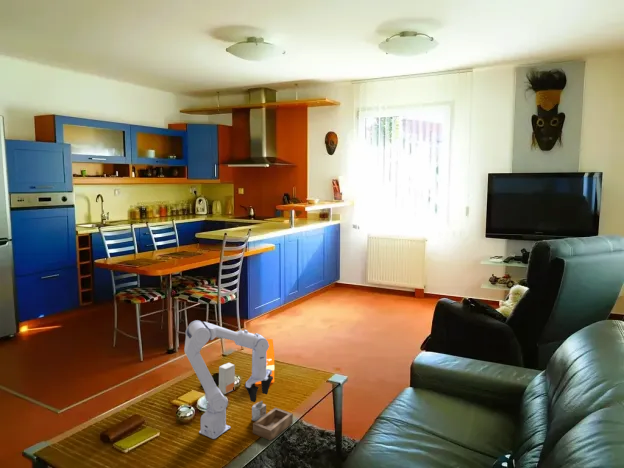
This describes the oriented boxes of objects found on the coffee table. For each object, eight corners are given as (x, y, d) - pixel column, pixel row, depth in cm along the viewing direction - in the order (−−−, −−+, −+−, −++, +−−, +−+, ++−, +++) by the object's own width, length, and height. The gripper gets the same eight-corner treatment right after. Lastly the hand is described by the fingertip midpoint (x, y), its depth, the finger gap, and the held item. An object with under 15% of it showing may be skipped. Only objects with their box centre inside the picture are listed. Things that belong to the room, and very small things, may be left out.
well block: (270, 440, 175) (270, 430, 174) (252, 433, 179) (252, 423, 179) (292, 423, 187) (292, 413, 187) (275, 416, 192) (275, 407, 191)
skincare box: (225, 394, 209) (225, 369, 207) (218, 391, 211) (218, 366, 210) (235, 389, 214) (235, 364, 212) (228, 386, 216) (228, 362, 214)
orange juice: (252, 377, 227) (253, 337, 224) (270, 375, 229) (271, 335, 226) (255, 384, 219) (256, 343, 216) (274, 382, 222) (274, 341, 219)
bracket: (259, 423, 187) (259, 406, 186) (251, 420, 189) (252, 403, 188) (266, 418, 190) (266, 402, 189) (258, 415, 192) (258, 399, 191)
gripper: (255, 374, 178) (255, 407, 180) (278, 361, 190) (277, 392, 192) (241, 369, 181) (241, 402, 183) (264, 357, 194) (264, 388, 196)
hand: (259, 397), depth 188 cm, fingers open, 7 cm apart
